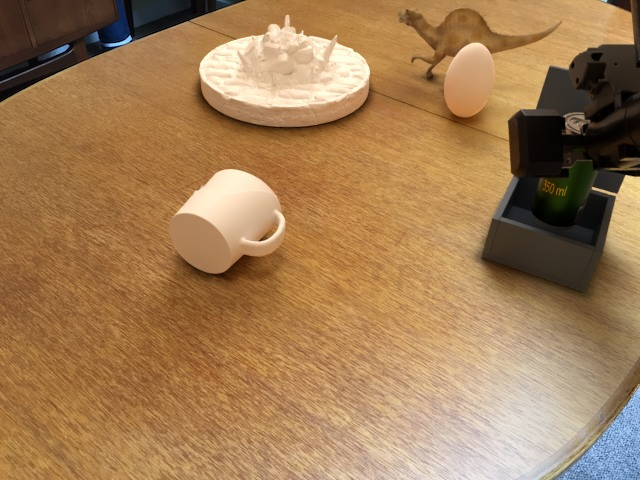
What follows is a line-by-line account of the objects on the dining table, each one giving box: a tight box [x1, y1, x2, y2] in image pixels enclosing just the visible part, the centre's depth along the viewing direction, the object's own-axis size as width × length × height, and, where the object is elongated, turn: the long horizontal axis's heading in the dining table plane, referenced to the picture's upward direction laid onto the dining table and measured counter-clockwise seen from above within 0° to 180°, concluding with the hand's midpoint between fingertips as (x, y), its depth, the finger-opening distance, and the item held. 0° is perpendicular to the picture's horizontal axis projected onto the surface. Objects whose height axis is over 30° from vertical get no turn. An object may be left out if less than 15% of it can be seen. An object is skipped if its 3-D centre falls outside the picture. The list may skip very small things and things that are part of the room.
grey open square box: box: [480, 174, 617, 293], centre depth 69 cm, size 12×12×6 cm
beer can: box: [531, 113, 599, 231], centre depth 64 cm, size 5×5×12 cm
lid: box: [535, 64, 626, 195], centre depth 68 cm, size 12×12×1 cm
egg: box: [443, 43, 496, 119], centre depth 91 cm, size 7×7×12 cm
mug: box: [168, 168, 287, 275], centre depth 66 cm, size 12×9×8 cm
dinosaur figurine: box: [397, 6, 563, 79], centre depth 98 cm, size 8×26×13 cm, turn 74°
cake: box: [198, 14, 371, 128], centre depth 97 cm, size 28×28×10 cm
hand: (565, 162), depth 65 cm, fingers closed on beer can, 5 cm apart
